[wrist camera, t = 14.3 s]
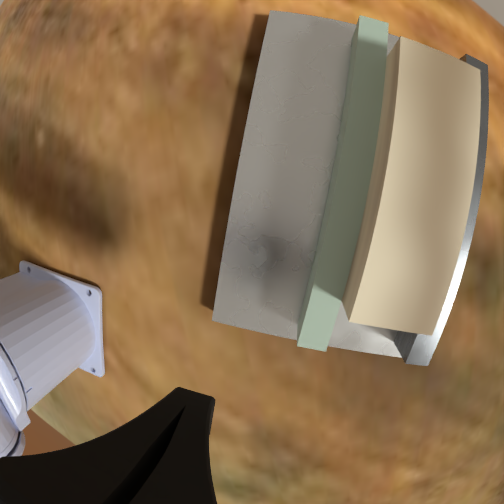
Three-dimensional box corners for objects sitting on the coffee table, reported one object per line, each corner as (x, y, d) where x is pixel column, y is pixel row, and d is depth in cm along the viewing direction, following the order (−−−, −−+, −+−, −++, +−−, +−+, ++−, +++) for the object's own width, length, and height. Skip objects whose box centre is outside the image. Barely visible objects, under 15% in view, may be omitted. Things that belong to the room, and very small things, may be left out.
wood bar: (335, 284, 16) (348, 322, 12) (374, 74, 14) (400, 36, 9) (399, 297, 16) (432, 335, 11) (438, 96, 13) (480, 69, 9)
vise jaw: (297, 325, 17) (296, 346, 15) (352, 36, 13) (359, 15, 11) (322, 330, 17) (325, 351, 15) (378, 42, 13) (388, 23, 11)
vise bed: (216, 314, 19) (198, 340, 15) (271, 18, 15) (265, -14, 11) (410, 351, 18) (427, 381, 14) (466, 72, 13) (493, 54, 10)
